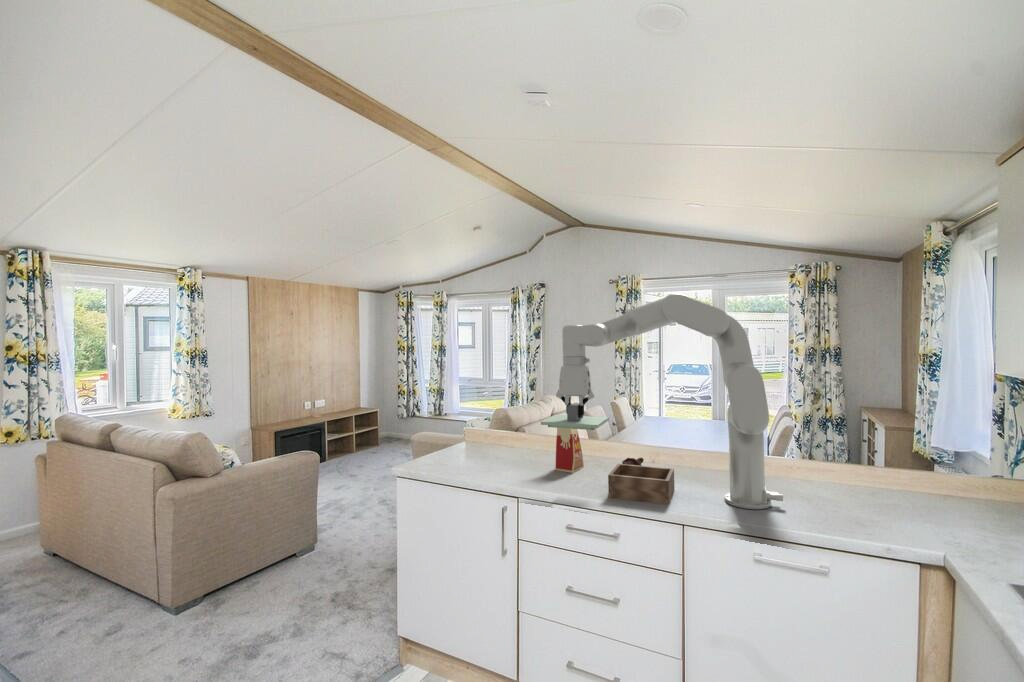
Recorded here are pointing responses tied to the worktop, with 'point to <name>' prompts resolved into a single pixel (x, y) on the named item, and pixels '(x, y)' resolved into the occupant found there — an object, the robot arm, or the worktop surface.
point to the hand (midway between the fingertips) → (575, 416)
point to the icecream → (633, 461)
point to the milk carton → (568, 450)
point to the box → (641, 483)
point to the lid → (574, 420)
